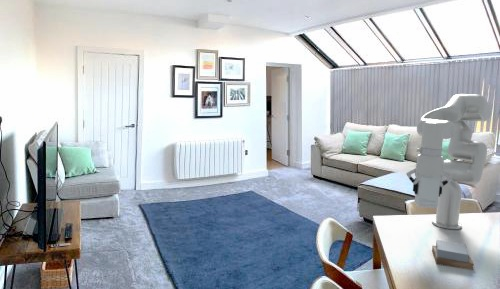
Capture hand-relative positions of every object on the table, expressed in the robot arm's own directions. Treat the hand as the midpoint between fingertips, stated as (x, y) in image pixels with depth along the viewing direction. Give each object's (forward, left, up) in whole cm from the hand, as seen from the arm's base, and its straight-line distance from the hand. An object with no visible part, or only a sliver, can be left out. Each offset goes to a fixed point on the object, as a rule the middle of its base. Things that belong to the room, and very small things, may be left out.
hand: (426, 194), depth 149 cm
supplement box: (0, 0, -5) cm, 5 cm away
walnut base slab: (+11, +9, -23) cm, 27 cm away
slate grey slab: (+11, +9, -20) cm, 24 cm away
